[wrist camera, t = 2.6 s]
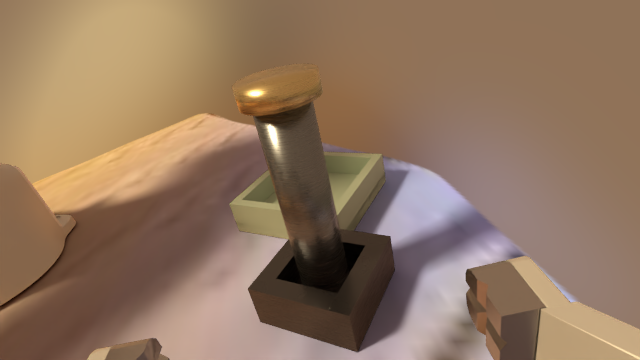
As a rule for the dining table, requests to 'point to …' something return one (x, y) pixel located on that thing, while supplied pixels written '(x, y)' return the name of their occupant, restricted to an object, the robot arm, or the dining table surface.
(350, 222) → the tray
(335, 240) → the lock pin
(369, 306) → the pin collar
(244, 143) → the dining table surface
